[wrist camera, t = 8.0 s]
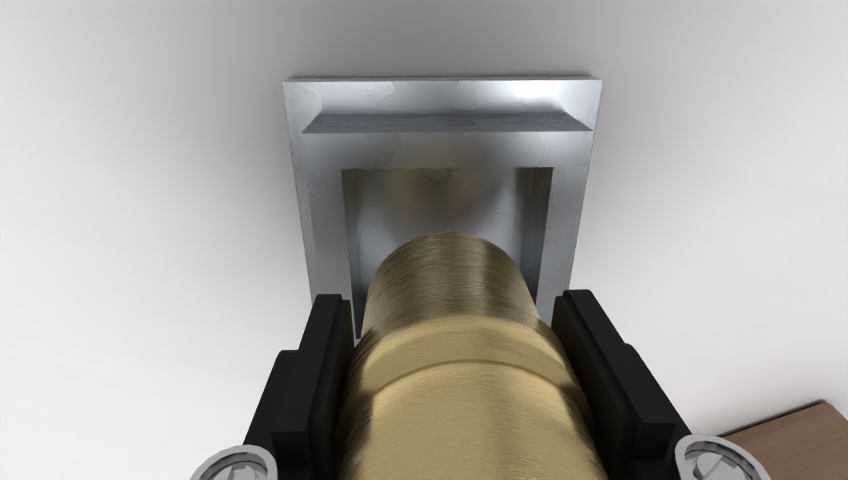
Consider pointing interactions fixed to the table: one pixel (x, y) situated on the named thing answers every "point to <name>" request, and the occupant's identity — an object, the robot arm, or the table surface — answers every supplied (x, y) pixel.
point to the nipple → (460, 375)
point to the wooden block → (800, 444)
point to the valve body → (440, 172)
